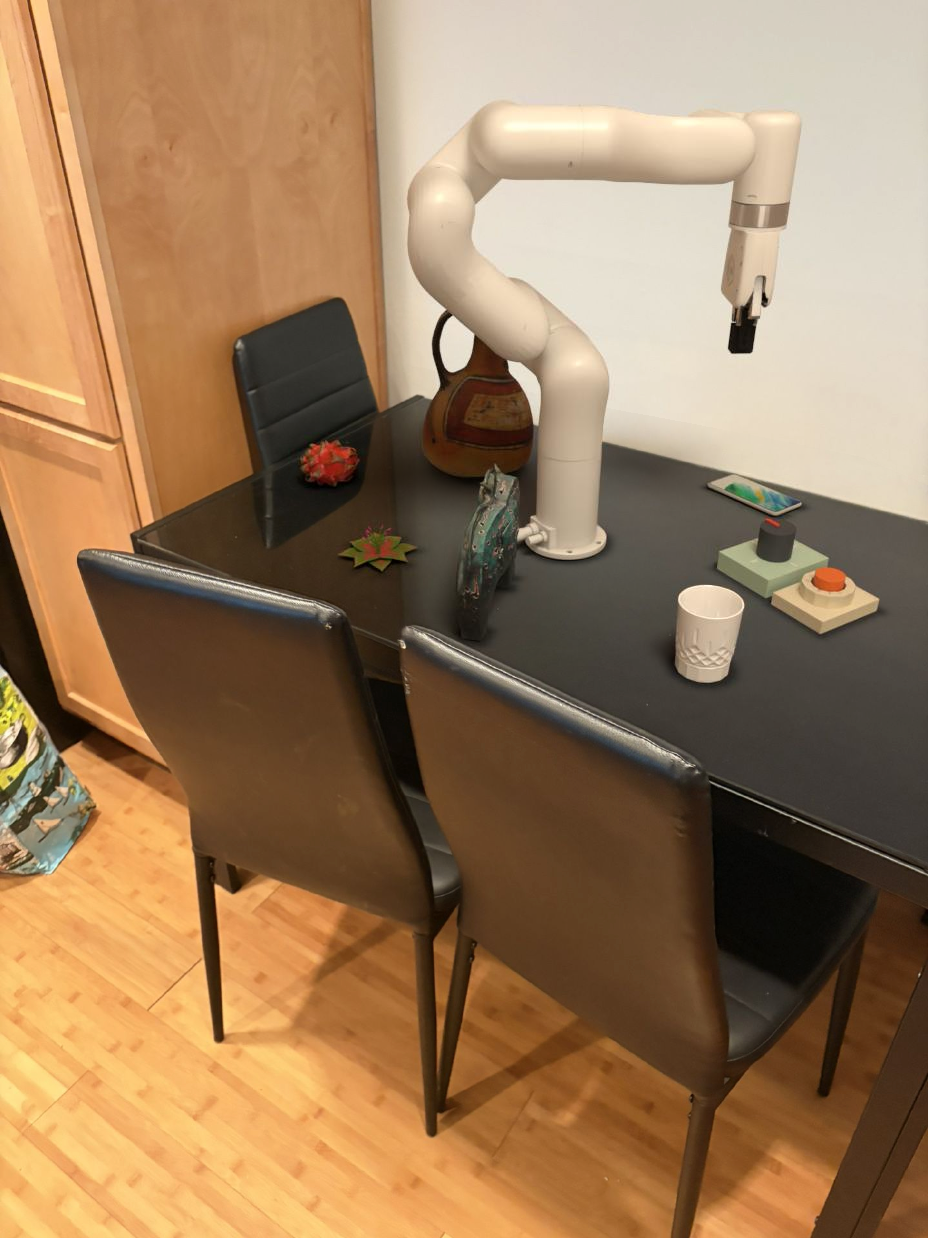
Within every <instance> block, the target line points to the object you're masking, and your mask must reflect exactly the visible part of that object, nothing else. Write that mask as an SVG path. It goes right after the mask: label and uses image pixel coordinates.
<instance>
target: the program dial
mask: <svg viewBox="0 0 928 1238" xmlns="http://www.w3.org/2000/svg"><path fill="white" fill-rule="evenodd" d="M796 535H797V526H796V525H795V524H794V523H792V522H790V521H787V520H784V519H780V518H777V519H776V518H769V517H767V518H765V519H764V520H763V521H762V522H761V523H760V525H759V532H758V537H757V538H758V543H757V549H756V554H757V556H758V557H760V558H761V559H763V560H766V561H769V562H785V561H788V560H789V559H790V558H791V556H792V551H793V546H794V540H796Z"/></svg>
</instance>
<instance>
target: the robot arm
mask: <svg viewBox="0 0 928 1238" xmlns="http://www.w3.org/2000/svg"><path fill="white" fill-rule="evenodd" d="M801 134H802V118H801V116H800V115H799V114H798V113H797V112H795V111H791V110H786V109H759V110H753V111H750V112H740V111H739V112H738V111H727V110H721V109H713V108H705V109H699V110H696V111H694V112H692V113H690V114H689V115H687V116H673V115H672V116H671V115H661V114H660V115H659V114H651V113H644V112H639V111H635V110H631V109H627V108H623V107H620V106H613V105H606V104H605V105H603V104H586V105H585V104H578V105H564V104H563V105H562V104H561V105H560V104H559V105H556V104H552V105H551V104H518V103H516V102H514V101H512V100H506V99H498V100H493V101H490V102H488V103H487V104H485V105H484V106H482V107H481V108H479V110H477V112H475V113H474V114H473V116H472V117H470V118H469V119H468V121H466V123H465V124H464V125H463V126H462V127H461V128H460V129H459V130H458V131H457V132H456V133H455V134H454V135H453V136H452V137H451V138H449V140H448V141H447V142H446V143H445V144H444V145H443V146H442V147H441V148H440V149H439V150H437V152H436V153H435V154H434V155H432V157H431V158H430V159H428V161H427V162H426V163H425V164H424V165H423V166H422V167H421V168H420V169H419V170H418V171H417V172H416V174H415V175H414V176H413V178H412V180H411V182H410V183H409V186H408V189H407V196H406V204H407V209H408V214H409V215H408V225H407V226H408V227H407V243H406V244H407V254H408V260H409V263H410V266H411V267H410V268H411V269H412V273H413V274H414V276H415V278H416V280H417V281H418V283H419V285H420V286H421V287H422V288H423V290H424V291H425V292H426V293H427V294H428V295H429V296H430V297H431V298H433V300H434V301H436V302H437V303H438V304H439V305H440V306H441V307H443V308H444V309H445V310H447V311H449V312H450V313H451V314H452V315H453V316H452V317H454V318H455V319H456V320H457V321H458V322H459V323H461V324H462V325H463V326H464V327H465V328H467V330H469V331H470V332H471V333H472V334H473V335H474V334H475V335H476V336H477V337H478V338H480V339H481V340H482V341H483V342H484V343H485V344H486V345H487V346H489V347H490V349H492V350H493V351H494V352H495V353H496V354H497V355H499V356H500V357H502V358H504V359H506V360H507V361H508V362H514V363H520V364H521V365H522V366H524V367H525V368H526V369H527V370H529V371H530V372H531V373H532V374H533V375H534V376H535V377H536V380H537V383H538V385H539V390H540V407H539V415H538V424H537V466H536V467H537V470H536V505H535V507H536V508H535V509H536V510H535V514H533V515H531V516H530V517H529V523H527V524H525V527H519V532H518V536H517V543H519V542H523V541H525V544H526V545H527V547H528V548H529V549H530V550H531V551H533V552H535V553H536V554H537V555H540V556H543V557H546V558H549V559H554V560H563V561H572V560H573V561H574V560H581V559H586V558H590V557H592V556H595V555H597V554H599V553H600V552H601V551H603V550H604V548H605V547H606V544H607V532H605V530H604V529H603V528H602V527H601V526H600V525H599V524H598V521H599V520H598V518H599V504H600V503H599V501H600V487H601V485H600V484H601V473H602V472H601V471H602V470H601V468H602V455H603V454H602V453H603V449H602V448H603V437H604V436H603V433H604V424H605V415H606V410H607V406H608V400H609V394H610V374H609V369H608V366H607V363H606V361H605V359H604V356H602V354H601V353H600V351H599V350H598V348H597V347H596V345H595V344H594V343H593V342H592V341H591V339H590V337H589V336H588V335H587V334H586V333H585V332H584V331H583V329H582V328H581V327H579V326H578V325H577V324H576V323H575V322H573V320H571V318H569V317H568V316H567V315H566V314H565V313H564V312H562V311H561V310H560V309H559V308H558V307H557V306H555V304H553V303H552V302H551V301H550V300H549V299H547V298H546V297H545V296H544V295H543V294H542V293H540V292H539V291H538V290H537V289H536V288H535V287H534V286H532V284H530V283H528V282H527V281H526V280H525V281H524V280H523V279H520V278H516V277H509V276H508V277H507V275H505V274H504V273H503V272H501V270H499V269H498V268H497V267H496V265H495V264H493V262H491V261H490V260H489V259H488V258H487V257H485V256H484V255H482V254H481V253H480V251H478V250H477V249H476V247H475V245H474V242H473V238H472V237H473V234H472V233H473V232H472V231H473V227H474V224H475V223H474V222H475V217H476V205H477V204H478V203H479V202H480V201H482V199H484V197H485V196H486V195H487V194H489V192H491V190H492V189H494V187H495V186H496V185H498V184H499V182H500V181H501V180H507V181H508V180H510V181H602V182H603V181H604V182H611V183H612V182H613V183H639V184H640V183H641V184H656V185H658V184H659V185H674V186H675V185H676V186H677V185H680V186H685V185H690V186H691V185H693V186H695V185H700V186H701V185H702V186H703V185H704V186H709V185H710V186H711V185H712V186H713V185H724V184H728V183H731V182H733V184H732V192H731V199H730V208H729V215H728V225H727V227H728V228H730V234H729V238H728V243H727V248H726V254H725V260H724V266H723V271H722V278H721V285H720V291H721V294H722V295H723V297H724V298H725V299H726V300H727V301H728V303H730V305H731V306H732V309H731V322H730V326H729V327H730V328H729V336H728V344H727V350H728V352H729V353H730V354H731V355H744V354H745V355H747V354H748V355H749V354H752V353H753V352H754V345H755V340H756V339H755V338H756V332H757V326H758V321H759V320H760V319H761V314H762V313H761V312H762V308H764V309H765V308H767V307H769V306H770V305H771V303H772V298H773V294H774V287H775V283H776V282H775V280H776V273H777V267H778V266H777V265H778V254H779V248H780V247H779V245H780V244H779V243H780V232H781V231H784V230H786V229H787V226H788V225H787V224H788V220H789V219H788V218H789V213H790V205H791V198H792V191H793V184H794V180H795V179H794V178H795V171H796V166H797V159H798V152H799V146H800V139H801Z"/></svg>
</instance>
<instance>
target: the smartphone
mask: <svg viewBox="0 0 928 1238" xmlns="http://www.w3.org/2000/svg"><path fill="white" fill-rule="evenodd" d="M707 487H708V489H712V490H714V491H716V492H719V493H721V494H723V495H725V496H727V497H730V498H732V499H734V500H736V501H739V502H741V503H743V504H745V505H748V506H750V507H752V508H754V509H756V510H759V511H760V512H762V513H765V514H768V515H770V516H773V517H778V516H780V515H784V514H785V513H787V512H790V511H793V510H795V509H798V508H800V507H801V506H802V501H801V500H799V499H796V498H794V497H792V496H790V495H787V494H785V493H782V492H780V491H777V490H775V489H772V488H770V487H767V486H766V485H763V484H760V483H758V482H756V481H753V480H751V479H749V478H746V477H745V476H742V475H739V474H736V473H730V474H728V475H725V476H722V477H719V478H716V479H713V480H711V481H708V483H707Z"/></svg>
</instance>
